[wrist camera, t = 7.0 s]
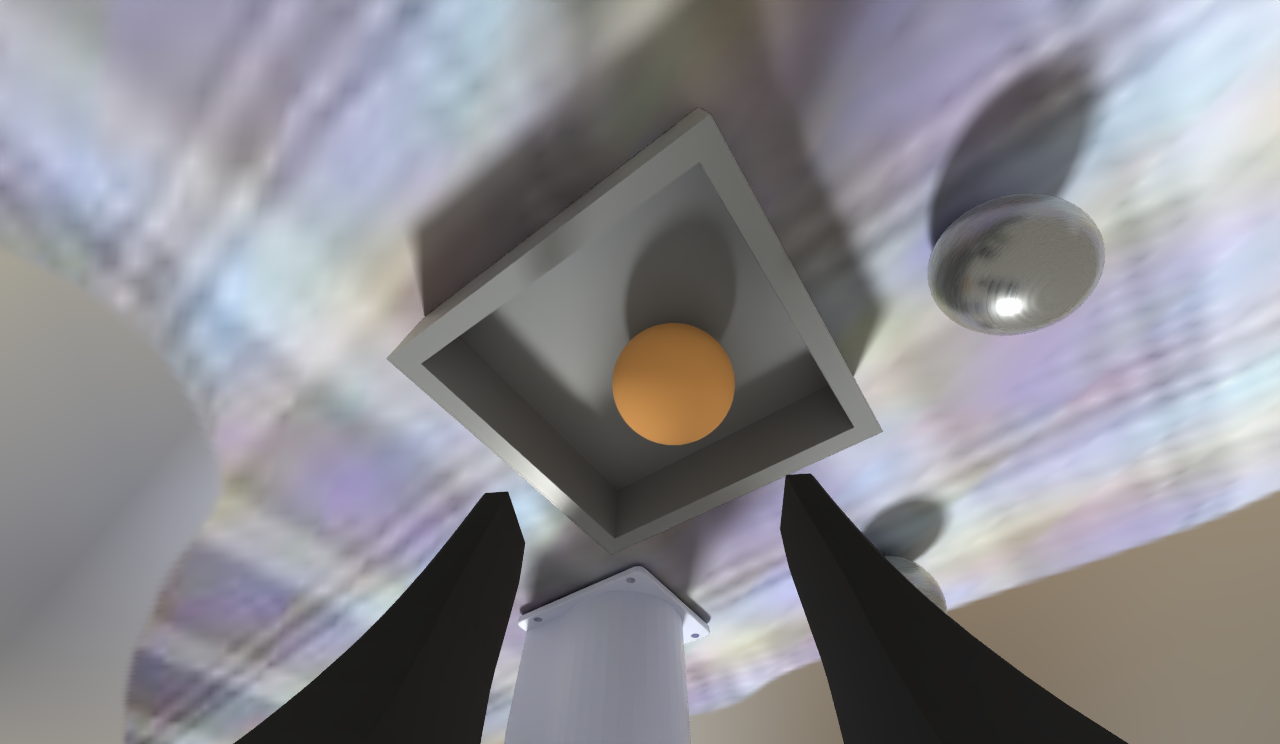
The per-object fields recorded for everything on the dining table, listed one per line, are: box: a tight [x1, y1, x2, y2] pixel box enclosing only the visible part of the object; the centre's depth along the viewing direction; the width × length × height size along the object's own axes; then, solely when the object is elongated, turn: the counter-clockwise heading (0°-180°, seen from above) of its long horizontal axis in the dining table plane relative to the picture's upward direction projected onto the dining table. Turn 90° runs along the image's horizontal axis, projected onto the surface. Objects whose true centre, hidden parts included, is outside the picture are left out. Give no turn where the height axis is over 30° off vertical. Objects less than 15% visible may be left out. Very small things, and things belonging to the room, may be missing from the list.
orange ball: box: [612, 323, 735, 445], centre depth 17 cm, size 4×4×4 cm
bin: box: [387, 107, 883, 555], centre depth 18 cm, size 13×13×3 cm
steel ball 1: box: [884, 556, 947, 614], centre depth 25 cm, size 4×4×4 cm
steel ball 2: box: [928, 193, 1105, 336], centre depth 15 cm, size 4×4×4 cm
